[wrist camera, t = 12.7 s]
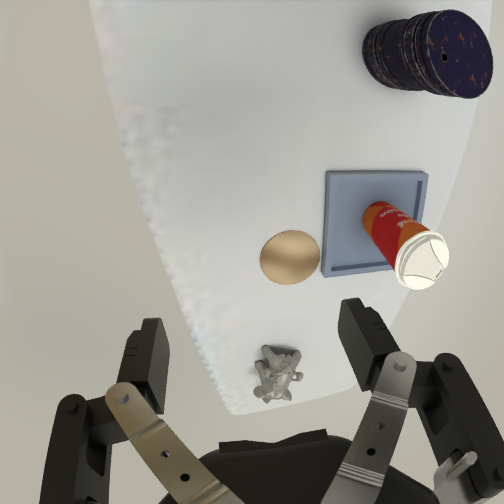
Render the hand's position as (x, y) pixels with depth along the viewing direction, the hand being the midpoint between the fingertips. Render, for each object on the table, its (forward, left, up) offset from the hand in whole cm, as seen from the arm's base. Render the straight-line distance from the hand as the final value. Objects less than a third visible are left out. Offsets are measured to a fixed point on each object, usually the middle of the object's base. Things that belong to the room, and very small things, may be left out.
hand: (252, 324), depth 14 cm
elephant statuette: (+39, +6, -30) cm, 50 cm away
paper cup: (+9, +21, -30) cm, 38 cm away
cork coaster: (+15, +8, -30) cm, 35 cm away
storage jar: (-15, +23, -30) cm, 41 cm away
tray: (+10, +21, -30) cm, 38 cm away
